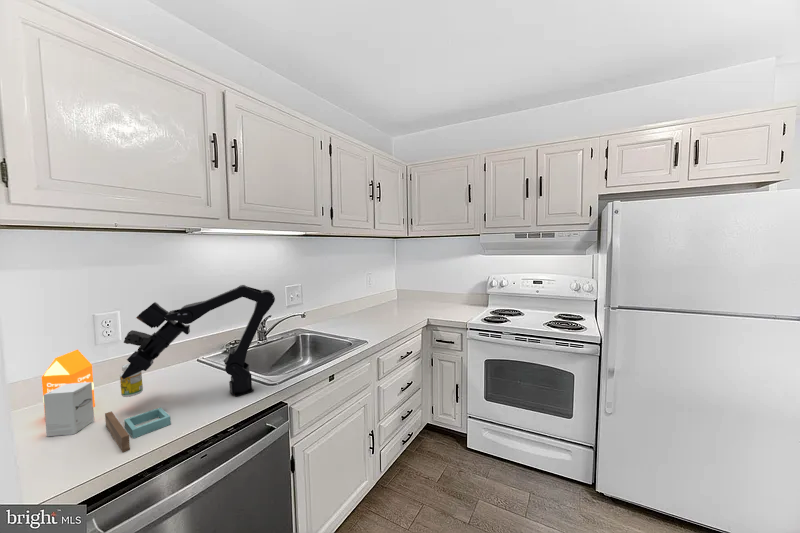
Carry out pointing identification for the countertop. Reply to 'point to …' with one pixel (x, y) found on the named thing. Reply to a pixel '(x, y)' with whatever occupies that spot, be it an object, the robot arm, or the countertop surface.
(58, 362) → the orange juice
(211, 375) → the countertop surface
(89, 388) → the supplement box
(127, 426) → the socket block
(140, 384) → the supplement bottle
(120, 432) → the wall
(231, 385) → the robot arm
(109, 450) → the countertop surface
